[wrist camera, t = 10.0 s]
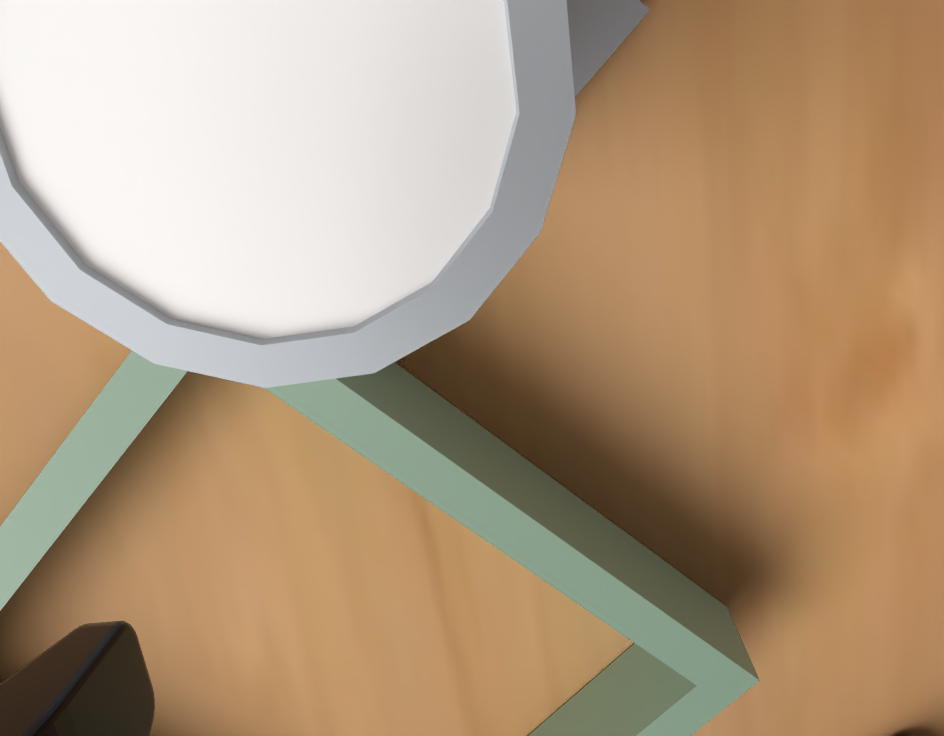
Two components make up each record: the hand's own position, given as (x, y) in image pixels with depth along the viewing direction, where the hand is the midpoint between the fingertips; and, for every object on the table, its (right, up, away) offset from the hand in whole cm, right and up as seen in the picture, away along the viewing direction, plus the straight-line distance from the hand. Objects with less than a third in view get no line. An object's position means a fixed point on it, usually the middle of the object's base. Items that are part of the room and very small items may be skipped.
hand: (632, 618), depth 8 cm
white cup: (-4, +8, +8) cm, 12 cm away
